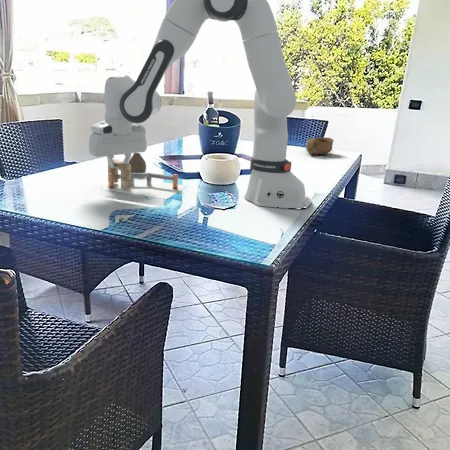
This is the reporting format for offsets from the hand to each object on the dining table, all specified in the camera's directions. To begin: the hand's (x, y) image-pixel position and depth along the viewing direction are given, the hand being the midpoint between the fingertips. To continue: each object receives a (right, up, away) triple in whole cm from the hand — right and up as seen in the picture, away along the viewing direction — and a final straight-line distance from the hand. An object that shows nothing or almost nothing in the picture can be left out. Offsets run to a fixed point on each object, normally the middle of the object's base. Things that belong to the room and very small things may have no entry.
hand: (119, 167), depth 167 cm
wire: (+8, -7, +2) cm, 11 cm away
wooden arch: (0, -6, +2) cm, 6 cm away
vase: (+2, -1, +21) cm, 21 cm away
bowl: (+83, +16, +85) cm, 120 cm away
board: (+8, -7, +4) cm, 12 cm away
